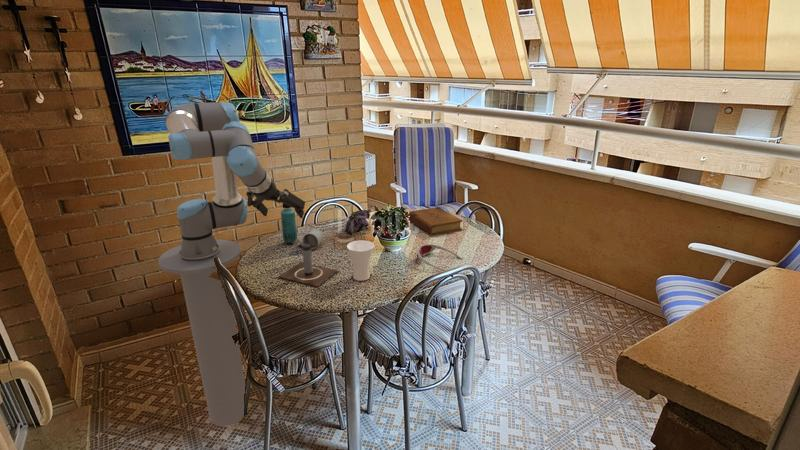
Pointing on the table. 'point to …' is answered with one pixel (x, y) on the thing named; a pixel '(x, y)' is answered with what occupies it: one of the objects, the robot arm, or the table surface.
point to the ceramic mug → (313, 238)
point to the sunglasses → (428, 249)
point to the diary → (435, 221)
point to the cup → (360, 258)
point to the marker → (307, 259)
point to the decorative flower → (357, 221)
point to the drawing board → (313, 280)
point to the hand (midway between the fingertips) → (284, 213)
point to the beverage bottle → (288, 224)
